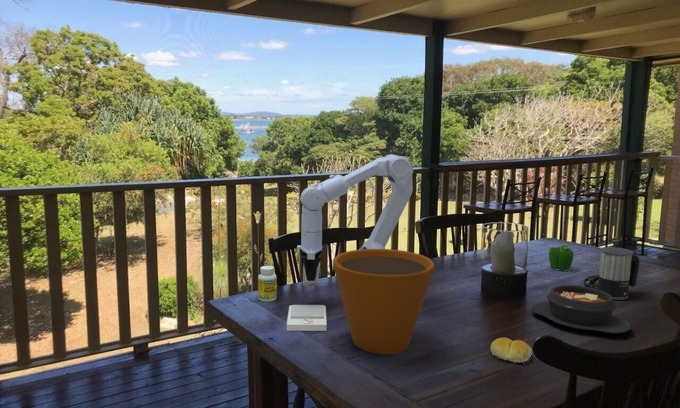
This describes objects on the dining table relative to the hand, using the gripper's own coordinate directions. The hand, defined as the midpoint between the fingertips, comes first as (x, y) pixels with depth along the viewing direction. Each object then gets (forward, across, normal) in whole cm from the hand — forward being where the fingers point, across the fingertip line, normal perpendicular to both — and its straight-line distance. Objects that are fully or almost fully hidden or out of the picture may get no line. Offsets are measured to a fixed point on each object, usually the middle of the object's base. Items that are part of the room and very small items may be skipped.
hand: (311, 277), depth 149 cm
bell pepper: (+9, -41, +91) cm, 100 cm away
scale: (+8, +11, -1) cm, 14 cm away
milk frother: (+9, -16, +94) cm, 95 cm away
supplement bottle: (+9, -6, -13) cm, 17 cm away
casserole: (+9, +11, +72) cm, 74 cm away
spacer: (+2, 0, 0) cm, 2 cm away
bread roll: (+9, +31, +46) cm, 57 cm away
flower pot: (+9, +24, +17) cm, 30 cm away
